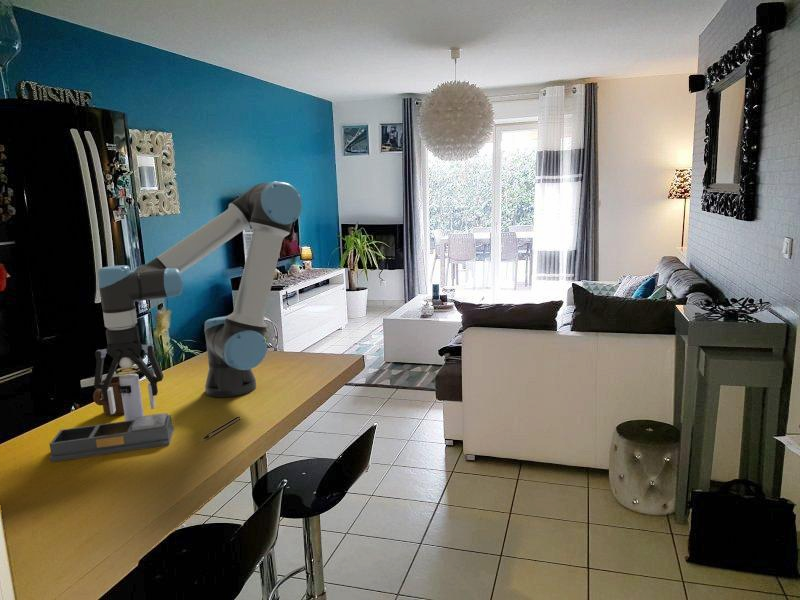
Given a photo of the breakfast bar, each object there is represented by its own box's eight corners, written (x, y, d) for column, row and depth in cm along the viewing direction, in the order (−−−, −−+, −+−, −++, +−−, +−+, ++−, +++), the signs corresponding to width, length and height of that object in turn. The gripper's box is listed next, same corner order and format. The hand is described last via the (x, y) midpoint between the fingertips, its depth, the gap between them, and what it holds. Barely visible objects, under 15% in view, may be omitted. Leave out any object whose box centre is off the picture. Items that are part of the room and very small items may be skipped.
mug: (110, 423, 157) (105, 390, 155) (86, 422, 159) (81, 389, 157) (138, 407, 169) (134, 376, 167) (116, 406, 170) (111, 375, 169)
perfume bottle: (135, 422, 157) (125, 351, 153) (152, 424, 155) (142, 352, 151) (118, 431, 152) (108, 357, 148) (136, 433, 150) (126, 358, 146)
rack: (173, 429, 151) (171, 410, 150) (169, 444, 142) (166, 424, 141) (63, 444, 145) (60, 425, 144) (50, 462, 135) (47, 441, 134)
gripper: (168, 319, 154) (178, 399, 159) (78, 327, 149) (91, 410, 153) (165, 325, 147) (175, 409, 151) (70, 334, 142) (84, 421, 146)
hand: (133, 409), depth 152 cm, fingers open, 9 cm apart
